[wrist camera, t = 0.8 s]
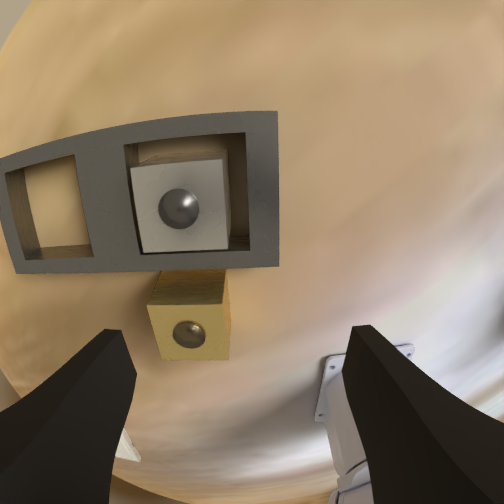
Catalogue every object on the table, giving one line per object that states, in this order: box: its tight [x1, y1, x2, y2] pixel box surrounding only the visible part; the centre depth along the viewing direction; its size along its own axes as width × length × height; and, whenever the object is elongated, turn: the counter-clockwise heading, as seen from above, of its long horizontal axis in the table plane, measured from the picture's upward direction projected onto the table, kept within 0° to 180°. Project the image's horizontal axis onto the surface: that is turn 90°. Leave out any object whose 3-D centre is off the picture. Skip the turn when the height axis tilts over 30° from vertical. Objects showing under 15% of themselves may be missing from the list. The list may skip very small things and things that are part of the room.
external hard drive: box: [115, 429, 141, 462], centre depth 28 cm, size 2×8×12 cm
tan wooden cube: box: [147, 269, 231, 360], centre depth 17 cm, size 4×4×4 cm
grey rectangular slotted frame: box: [0, 111, 279, 274], centre depth 15 cm, size 8×18×2 cm, turn 92°
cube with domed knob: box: [130, 150, 231, 253], centre depth 14 cm, size 4×4×4 cm
